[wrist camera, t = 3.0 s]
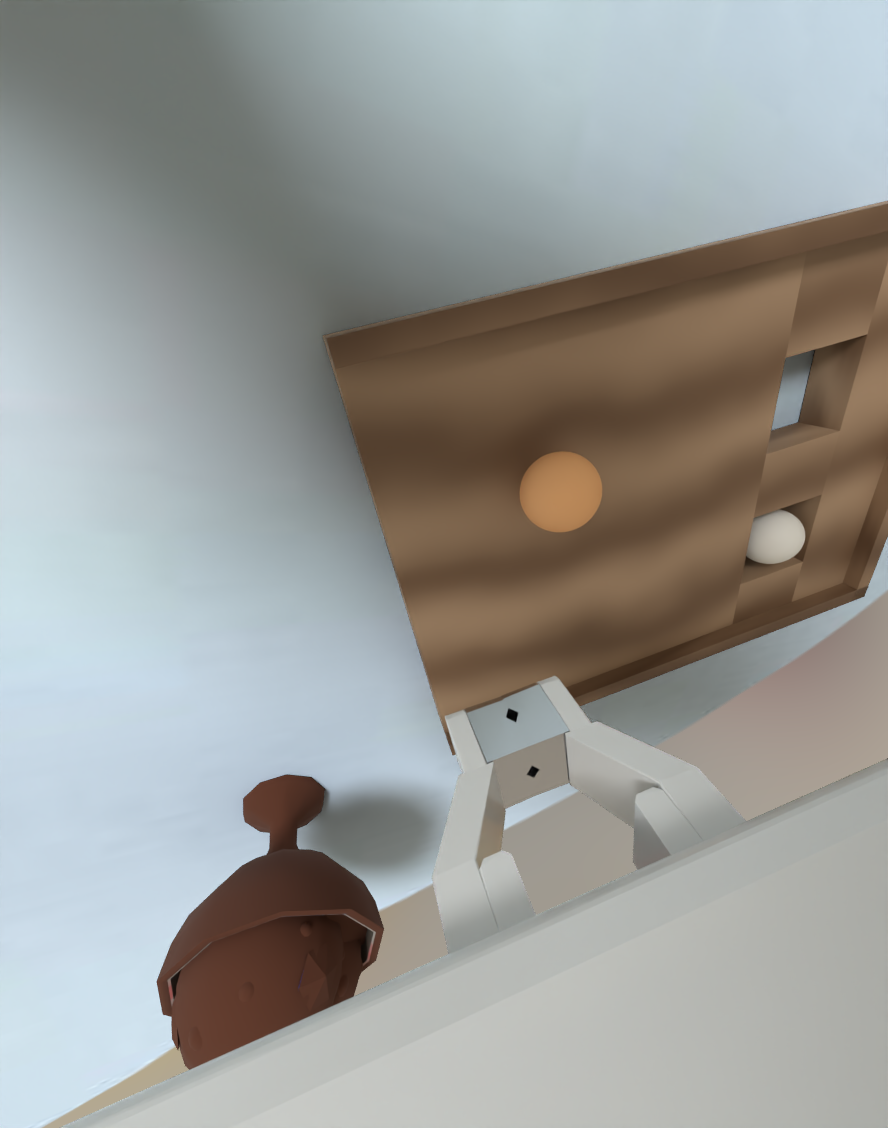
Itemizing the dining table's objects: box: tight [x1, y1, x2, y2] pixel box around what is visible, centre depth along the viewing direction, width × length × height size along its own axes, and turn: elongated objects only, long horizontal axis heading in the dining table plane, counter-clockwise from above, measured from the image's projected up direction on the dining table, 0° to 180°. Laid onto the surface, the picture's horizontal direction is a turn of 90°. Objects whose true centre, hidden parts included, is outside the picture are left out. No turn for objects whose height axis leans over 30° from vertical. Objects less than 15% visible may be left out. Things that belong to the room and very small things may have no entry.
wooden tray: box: [323, 201, 888, 755], centre depth 25 cm, size 24×32×4 cm
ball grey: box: [746, 510, 805, 564], centre depth 29 cm, size 4×4×4 cm
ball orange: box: [519, 451, 602, 532], centre depth 20 cm, size 4×4×4 cm
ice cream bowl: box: [157, 775, 384, 1070], centre depth 24 cm, size 11×11×15 cm
